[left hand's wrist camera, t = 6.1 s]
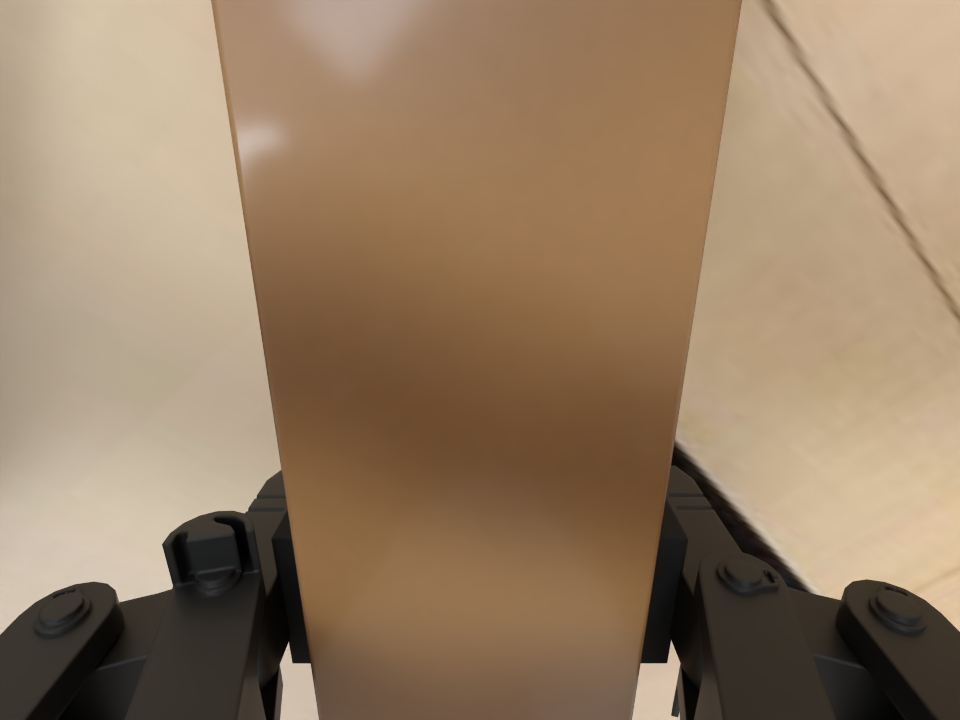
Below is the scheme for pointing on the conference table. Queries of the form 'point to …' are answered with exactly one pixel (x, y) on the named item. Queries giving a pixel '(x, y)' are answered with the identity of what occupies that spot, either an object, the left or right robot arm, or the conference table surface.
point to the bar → (476, 328)
